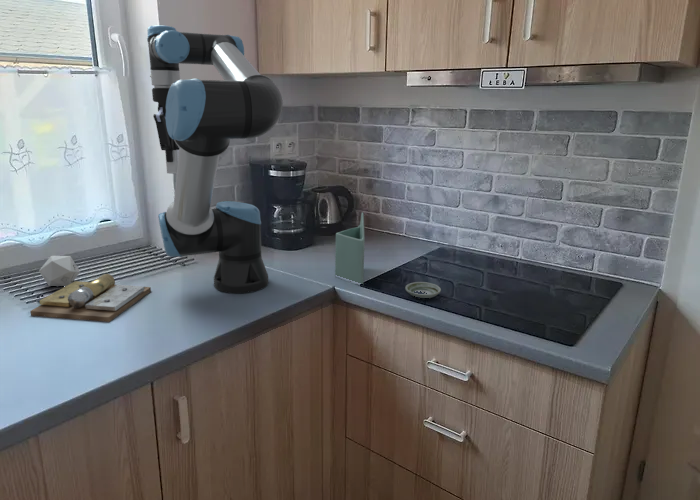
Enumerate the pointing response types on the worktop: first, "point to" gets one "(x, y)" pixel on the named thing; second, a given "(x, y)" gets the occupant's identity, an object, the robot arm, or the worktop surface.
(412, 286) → the saucer
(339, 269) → the planter
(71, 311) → the mount board
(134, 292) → the fixed leaf
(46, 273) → the die
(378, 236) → the worktop surface
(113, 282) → the loose leaf
